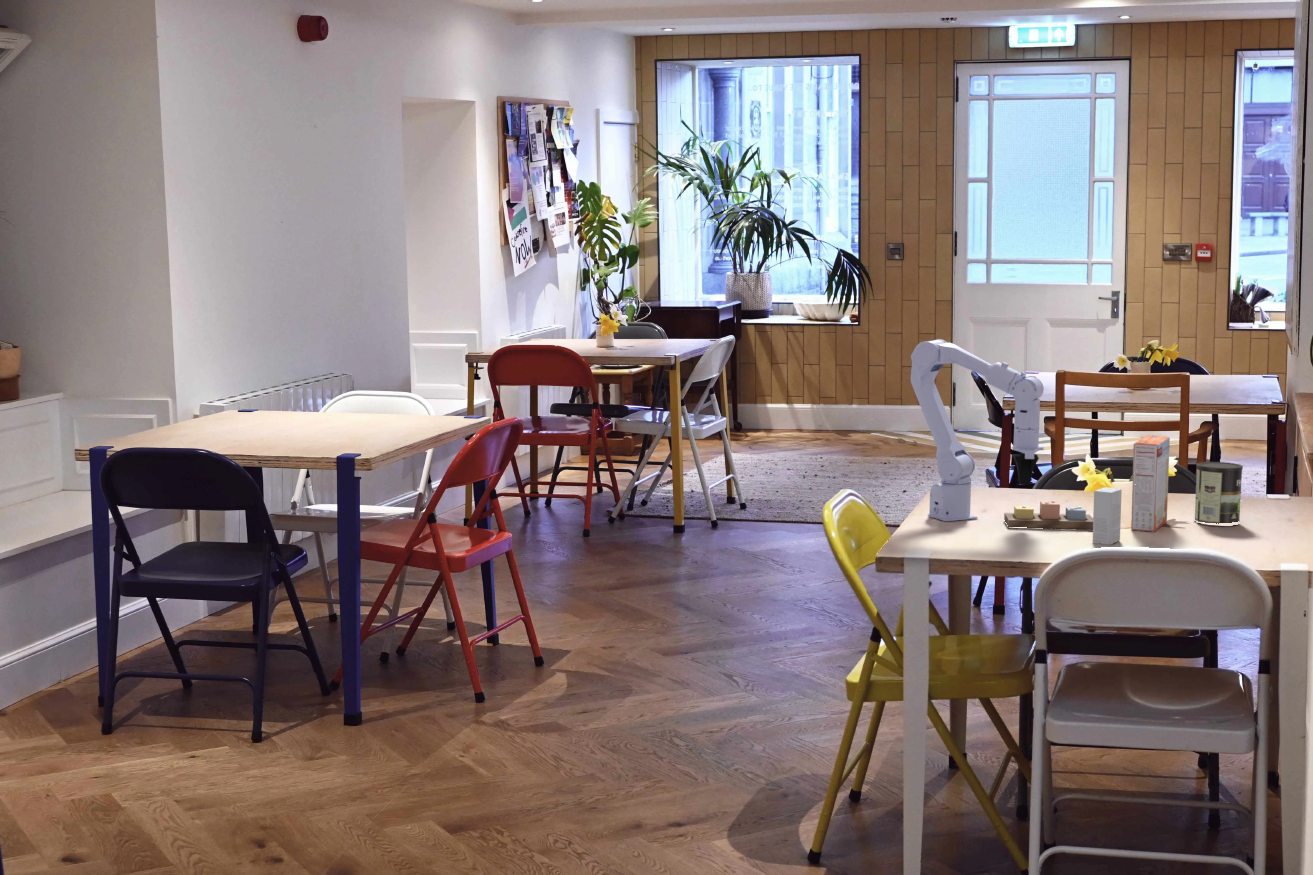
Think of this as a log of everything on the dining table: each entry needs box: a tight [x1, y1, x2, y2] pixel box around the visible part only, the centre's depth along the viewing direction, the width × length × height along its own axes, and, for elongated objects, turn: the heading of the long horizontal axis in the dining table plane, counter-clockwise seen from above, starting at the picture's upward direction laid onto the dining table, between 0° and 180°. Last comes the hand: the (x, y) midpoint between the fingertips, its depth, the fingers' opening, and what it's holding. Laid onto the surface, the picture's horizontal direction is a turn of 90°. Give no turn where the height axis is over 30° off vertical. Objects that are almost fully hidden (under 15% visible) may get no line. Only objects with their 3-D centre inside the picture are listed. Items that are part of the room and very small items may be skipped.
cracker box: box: [1130, 435, 1171, 533], centre depth 329 cm, size 14×6×21 cm, turn 149°
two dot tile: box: [1039, 500, 1061, 519], centre depth 331 cm, size 4×4×4 cm
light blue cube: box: [1065, 505, 1087, 520], centre depth 331 cm, size 4×4×4 cm
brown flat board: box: [1003, 512, 1093, 531], centre depth 332 cm, size 20×9×2 cm, turn 82°
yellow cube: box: [1013, 505, 1035, 519], centre depth 332 cm, size 4×4×4 cm
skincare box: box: [1092, 486, 1122, 546], centre depth 313 cm, size 6×4×12 cm
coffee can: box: [1194, 461, 1244, 524], centre depth 334 cm, size 10×10×14 cm
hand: (1024, 484), depth 331 cm, fingers closed
